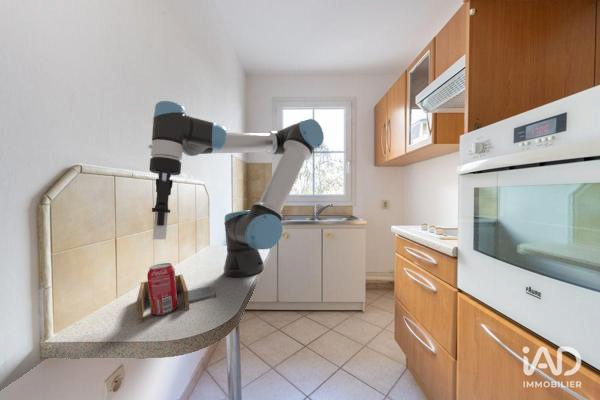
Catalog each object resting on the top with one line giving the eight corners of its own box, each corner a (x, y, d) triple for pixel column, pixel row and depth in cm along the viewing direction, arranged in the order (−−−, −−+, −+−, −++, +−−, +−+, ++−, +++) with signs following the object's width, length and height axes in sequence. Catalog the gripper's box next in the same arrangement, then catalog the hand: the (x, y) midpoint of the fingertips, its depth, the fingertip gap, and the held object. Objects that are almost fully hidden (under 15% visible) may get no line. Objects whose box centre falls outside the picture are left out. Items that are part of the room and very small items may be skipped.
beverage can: (165, 304, 68) (162, 262, 68) (183, 306, 66) (179, 262, 65) (144, 315, 62) (140, 268, 62) (163, 318, 60) (159, 269, 60)
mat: (209, 287, 79) (209, 285, 79) (215, 296, 71) (215, 294, 71) (186, 293, 75) (185, 291, 75) (189, 303, 68) (188, 300, 68)
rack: (183, 289, 79) (182, 274, 79) (189, 309, 63) (187, 290, 63) (142, 298, 73) (141, 282, 73) (138, 323, 58) (136, 302, 58)
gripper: (153, 165, 76) (147, 233, 74) (146, 145, 54) (138, 241, 53) (179, 168, 80) (174, 233, 78) (183, 151, 58) (177, 241, 56)
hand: (160, 237), depth 65 cm, fingers open, 13 cm apart
